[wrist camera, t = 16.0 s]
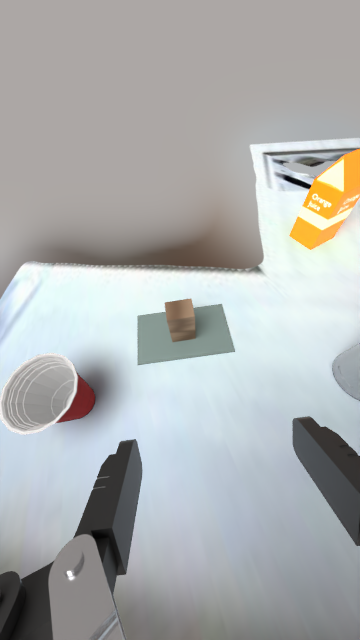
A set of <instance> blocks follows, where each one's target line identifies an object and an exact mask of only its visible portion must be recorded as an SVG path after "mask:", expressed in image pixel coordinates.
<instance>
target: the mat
mask: <svg viewBox="0 0 360 640" xmlns="http://www.w3.org/2000/svg"><path fill="white" fill-rule="evenodd" d="M193 310H194V315H195V338H196V339H191V340H184V341H178V342H172V339H171V335H170V331H169V327H168V324H167V318H166V312H162V313H154V314H147V315H140V316H138V365H141V364H149V363H156V362H163V361H170V360H178V359H185V358H192V357H199V356H206V355H214V354H221V353H228V352H235V350H234V347H233V343H232V340H231V336H230V332H229V329H228V325H227V322H226V318H225V315H224V311H223V307H222V304H218V305H211V306H204V307H197V308H193Z"/></svg>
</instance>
